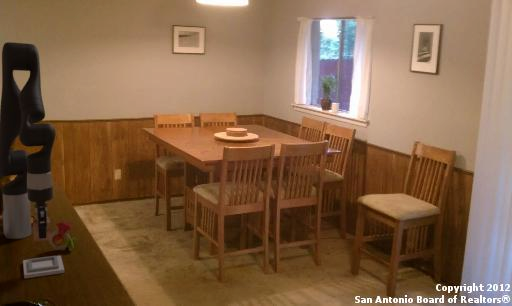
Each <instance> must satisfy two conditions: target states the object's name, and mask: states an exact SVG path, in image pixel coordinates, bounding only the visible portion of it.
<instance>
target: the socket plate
mask: <svg viewBox="0 0 512 306" xmlns="http://www.w3.org/2000/svg"><path fill="white" fill-rule="evenodd" d="M22 264H23V265H22V266H23V277H24V278H23V279H30V278H31V279H32V278H37V277H44V276H45V277H46V276H52V275H53V276H54V275H59V274H65V266H64V263H63V258H62V255H51V256H43V257H35V258H28V259H23V260H22Z"/></svg>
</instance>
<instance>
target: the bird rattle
mask: <svg viewBox="0 0 512 306" xmlns="http://www.w3.org/2000/svg"><path fill="white" fill-rule="evenodd" d="M55 225H56V227H57V228H58V229H55V230H54V231H52V233H51V239H50V240H48V242H49V245H50V246H51V247H52V248H53V250H54V251H59V250H63V249H66V248H67V249H68V252H69V251H70V252H71V251H72V250H73V249H74V248H75V246H74V245H75V243H76V241H78V239H77V238H76V237H72V238H71V236H70V233H69V232H68V231H71V230H72V227H71V222H70V221H68V222H64V221H63V222H57V223H56V224H55Z"/></svg>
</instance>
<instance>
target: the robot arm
mask: <svg viewBox="0 0 512 306" xmlns="http://www.w3.org/2000/svg"><path fill="white" fill-rule="evenodd" d="M14 71H20V72H21V71H24V72H29V77H28V79H27V81H26V83H25V84H24V86H23V87H22V89H20V87H19V86H18V83H17V82H16V80H15V77H14ZM1 81H2V82H1V83H2V84H1V94H0V95H1V97H0V177H11V176H16V177H14V178H13V179H12V180H9V182H8V181H7V182H6V183H5V184H4V185H3V186H2V203H3V211H2V224H3V225H2V227H3V235H4V236H5V238H6V239H11V240H19V239H25V238H27V237H29V236H31V235H32V218H31V217H32V214H31V213H32V212H31V202H32V203H34V204H33V209H34V210H33V211H34V215H35V219H36V220H37V221H38V228H39V238H40V239H43V238H46V227H47V219H48V217H49V216H48V211H49V210H48V209H49V207H48V203H47V202H49V201H51V200H52V199H53V198H54V192H53V191H54V190H53V189H54V188H53V175H52V164H51V163H52V161H51V157H52V153H53V152H52V151H53V148H54V143H55V140H56V129H55V127H54V126H53V125H52V124H50V123H40V122H42V121H43V120H44V119H45V116H46V111H45V107H44V102H43V96H42V85H41V84H42V82H41V81H42V80H41V65H40V54H39V50H38V47H37V46H36V44H33V43H32V44H31V43H23V42H5V43H4V44H3V45H2V50H1ZM18 138H19V142H20V144H22V145H23V146H24V147H29V148H30V147H41V149H40V150H39V151H35V152H33V153H28V152H27V151H26V150H25V149H15V150H11V149H12V146H13V144H14V142H15V140H16V139H18ZM40 222H45V224H40Z"/></svg>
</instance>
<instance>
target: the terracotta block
mask: <svg viewBox="0 0 512 306" xmlns="http://www.w3.org/2000/svg"><path fill="white" fill-rule="evenodd" d="M40 224H45V222H40ZM32 226H33V227H32V229H33V240H34V242H39V241H40V242H41V241H49V240H50V239H51V234H52V233H51V232H52V229H51V227H52V226H51V218H50V216H48V219H47V227H46V238H43V239H40V238H39V228H38V221H37V220H36V218H32Z"/></svg>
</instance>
